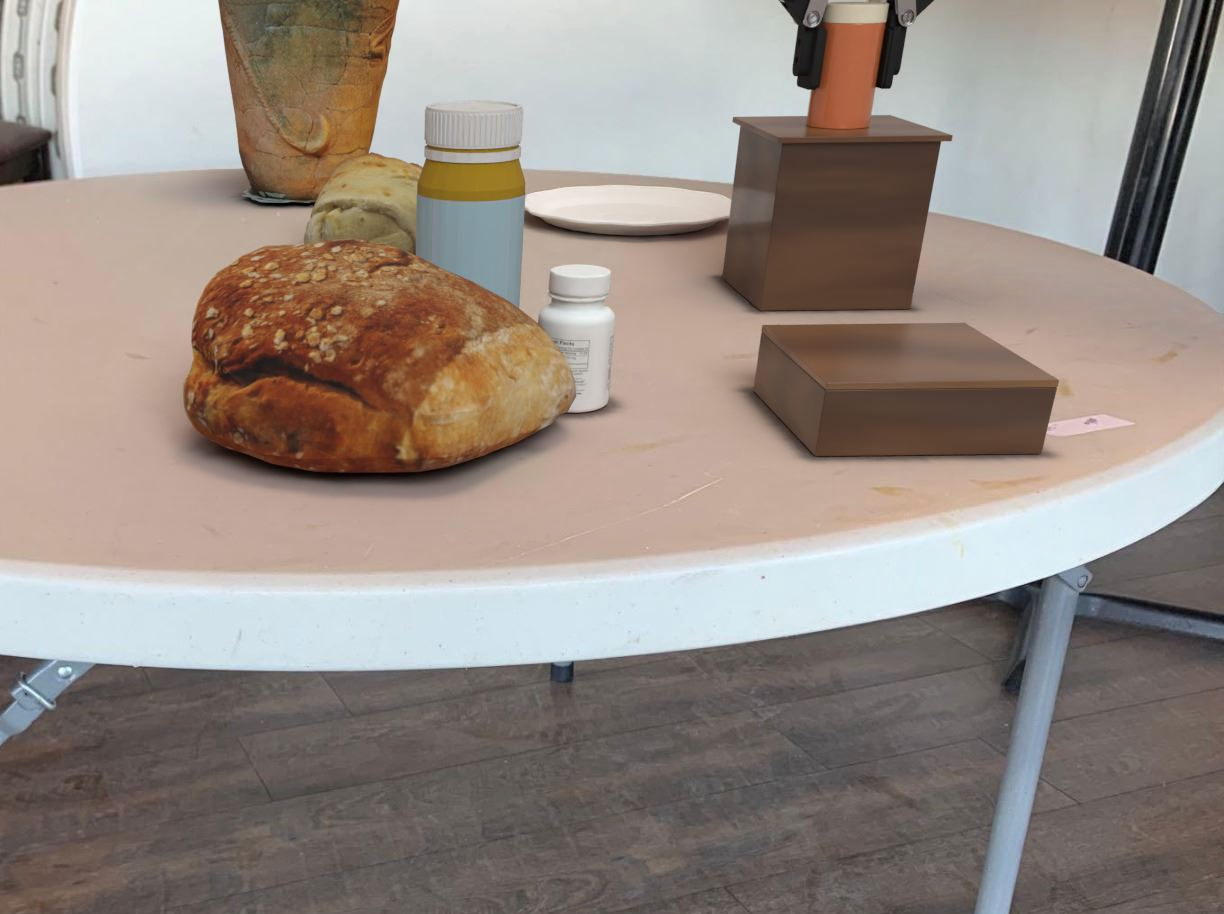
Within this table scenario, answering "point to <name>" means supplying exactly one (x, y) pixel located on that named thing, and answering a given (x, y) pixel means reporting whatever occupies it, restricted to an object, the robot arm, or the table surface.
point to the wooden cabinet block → (829, 212)
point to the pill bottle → (582, 329)
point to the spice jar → (848, 65)
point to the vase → (304, 87)
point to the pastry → (368, 203)
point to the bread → (366, 362)
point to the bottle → (473, 193)
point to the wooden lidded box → (902, 390)
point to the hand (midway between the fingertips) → (843, 84)
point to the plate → (628, 209)
